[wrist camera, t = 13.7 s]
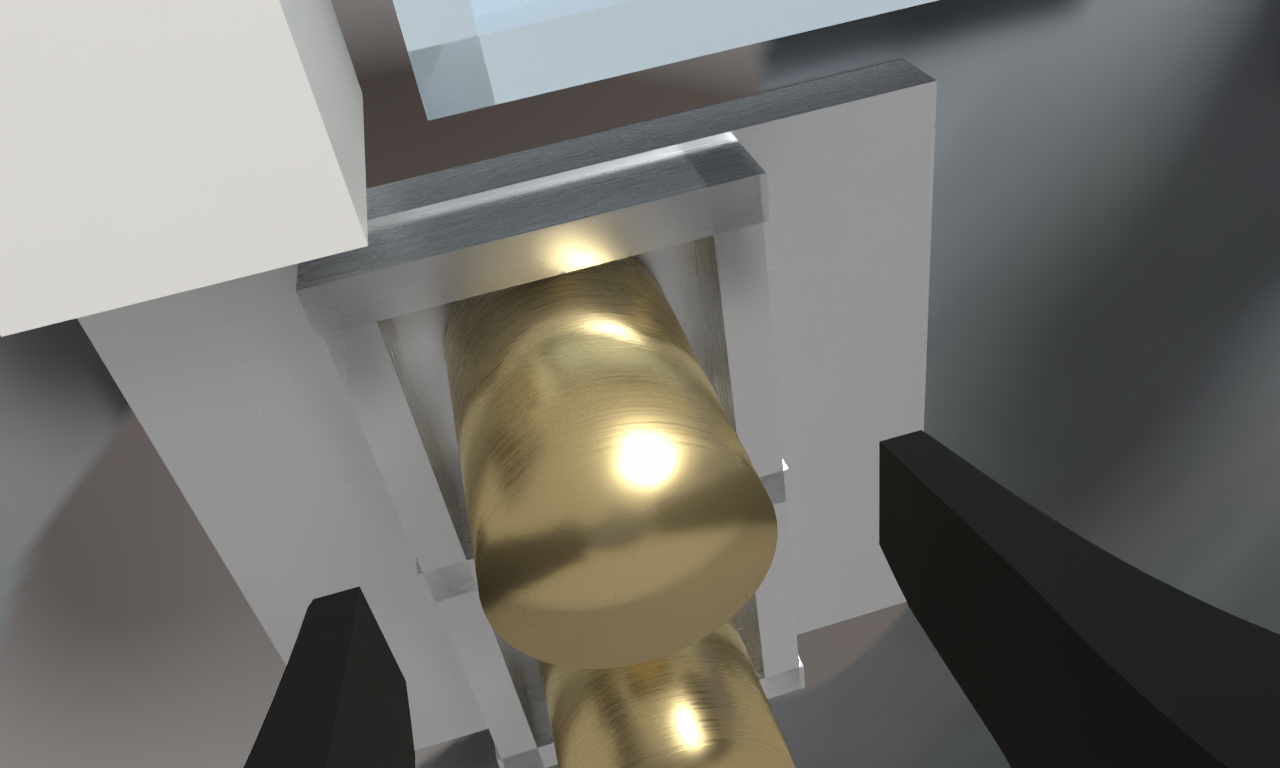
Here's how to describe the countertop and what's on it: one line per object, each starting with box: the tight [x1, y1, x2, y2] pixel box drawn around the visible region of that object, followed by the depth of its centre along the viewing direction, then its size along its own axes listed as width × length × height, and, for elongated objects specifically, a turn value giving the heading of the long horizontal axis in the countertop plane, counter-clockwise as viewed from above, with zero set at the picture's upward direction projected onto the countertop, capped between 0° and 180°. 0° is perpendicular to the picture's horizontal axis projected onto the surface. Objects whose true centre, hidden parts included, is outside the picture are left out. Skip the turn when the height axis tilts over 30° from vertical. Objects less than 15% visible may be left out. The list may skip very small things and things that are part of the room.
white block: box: [0, 0, 368, 337], centre depth 12 cm, size 4×4×5 cm
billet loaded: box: [538, 617, 796, 768], centre depth 19 cm, size 4×4×6 cm
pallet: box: [77, 59, 937, 768], centre depth 19 cm, size 14×13×3 cm
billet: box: [444, 256, 778, 669], centre depth 15 cm, size 4×4×6 cm
